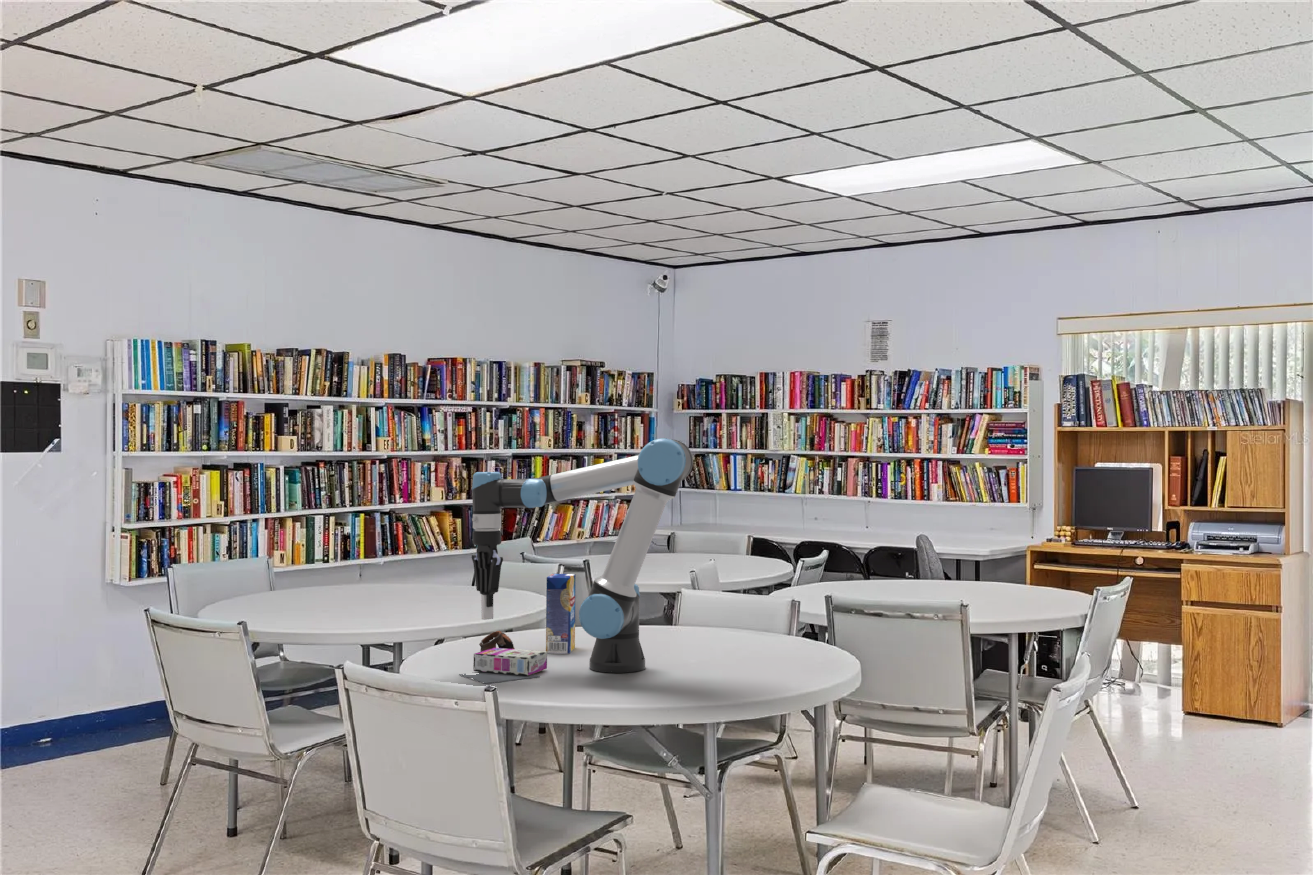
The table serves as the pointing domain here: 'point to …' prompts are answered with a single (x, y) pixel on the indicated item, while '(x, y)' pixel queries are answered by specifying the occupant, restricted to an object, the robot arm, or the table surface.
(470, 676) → the mat
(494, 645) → the brown curved piece
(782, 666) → the table surface
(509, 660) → the candy bar box
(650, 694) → the table surface
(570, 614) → the beverage box
